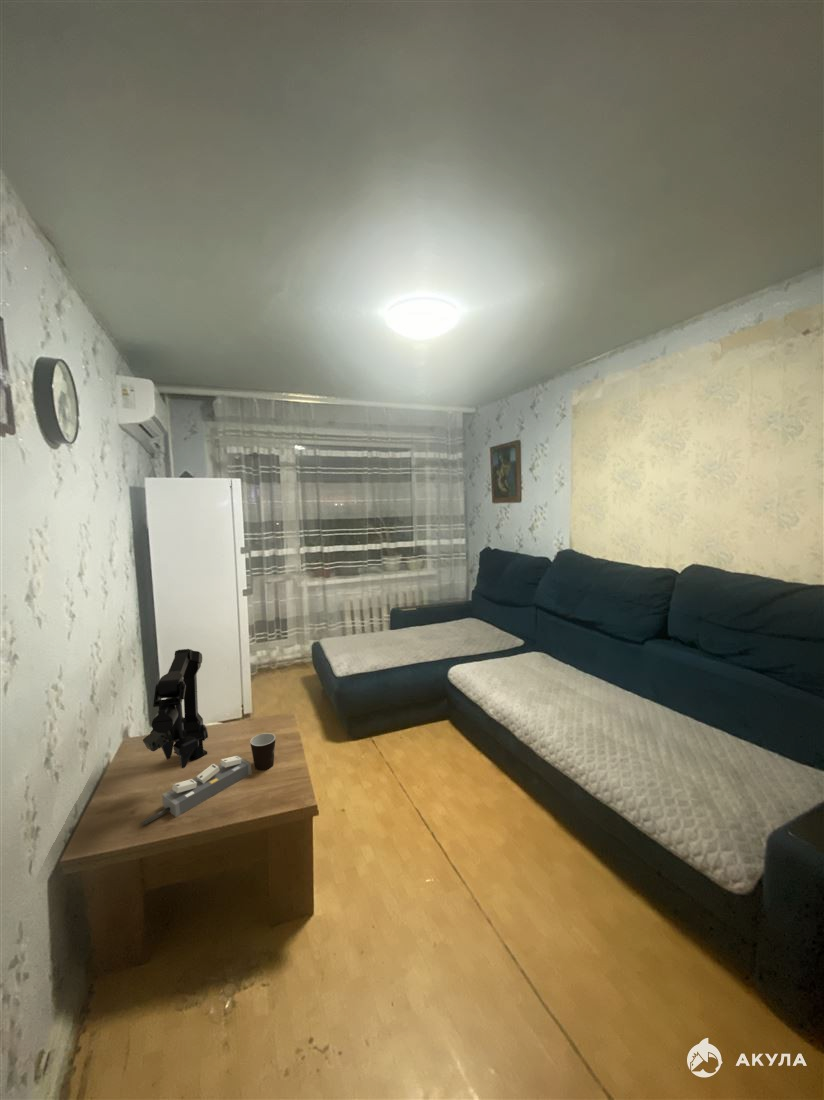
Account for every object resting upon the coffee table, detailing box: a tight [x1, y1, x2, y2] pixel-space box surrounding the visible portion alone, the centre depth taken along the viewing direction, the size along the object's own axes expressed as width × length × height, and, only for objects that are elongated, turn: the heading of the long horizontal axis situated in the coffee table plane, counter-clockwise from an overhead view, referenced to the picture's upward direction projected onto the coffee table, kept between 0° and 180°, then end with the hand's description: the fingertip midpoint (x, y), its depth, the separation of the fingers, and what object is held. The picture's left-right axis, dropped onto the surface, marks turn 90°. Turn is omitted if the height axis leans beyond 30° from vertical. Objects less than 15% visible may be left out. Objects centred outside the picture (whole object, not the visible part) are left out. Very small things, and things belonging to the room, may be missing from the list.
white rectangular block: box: [171, 778, 197, 793], centre depth 139 cm, size 3×6×2 cm, turn 144°
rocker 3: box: [219, 755, 242, 767], centre depth 152 cm, size 3×6×2 cm, turn 144°
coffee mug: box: [249, 732, 276, 772], centre depth 160 cm, size 12×9×10 cm
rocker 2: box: [196, 763, 220, 784], centre depth 146 cm, size 3×6×2 cm, turn 144°
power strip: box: [141, 754, 252, 826], centre depth 143 cm, size 8×34×4 cm, turn 144°
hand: (175, 763), depth 142 cm, fingers open, 9 cm apart
